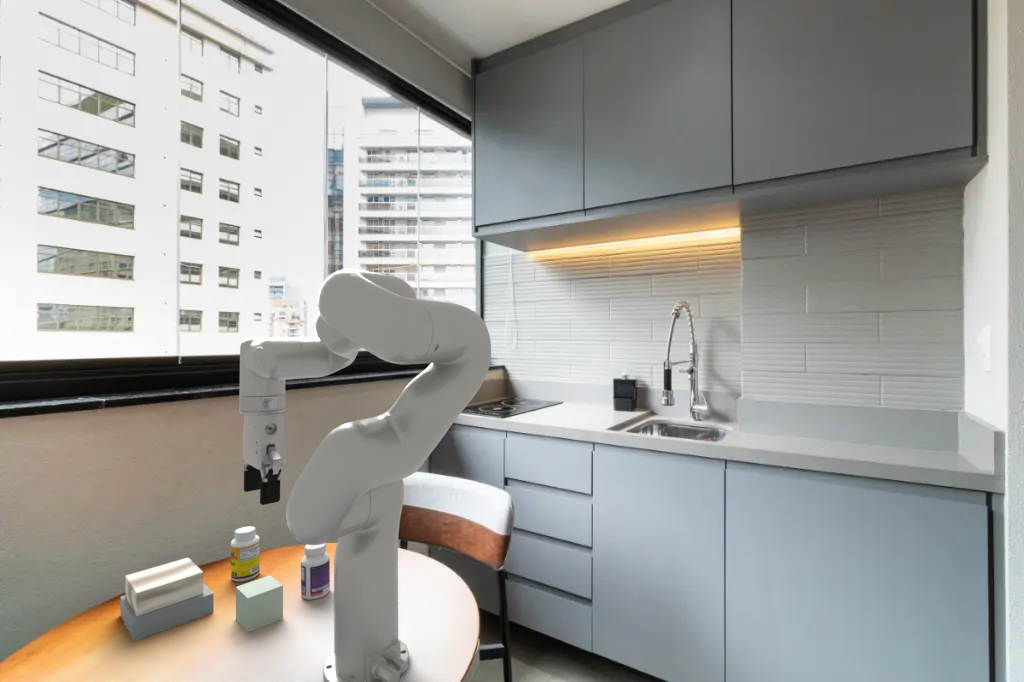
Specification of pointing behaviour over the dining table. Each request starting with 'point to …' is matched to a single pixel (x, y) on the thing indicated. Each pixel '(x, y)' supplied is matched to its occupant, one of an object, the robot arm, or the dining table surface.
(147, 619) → the base block
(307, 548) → the pill bottle
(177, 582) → the top block
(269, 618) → the sage block
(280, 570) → the dining table surface
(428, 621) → the dining table surface
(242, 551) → the supplement bottle
